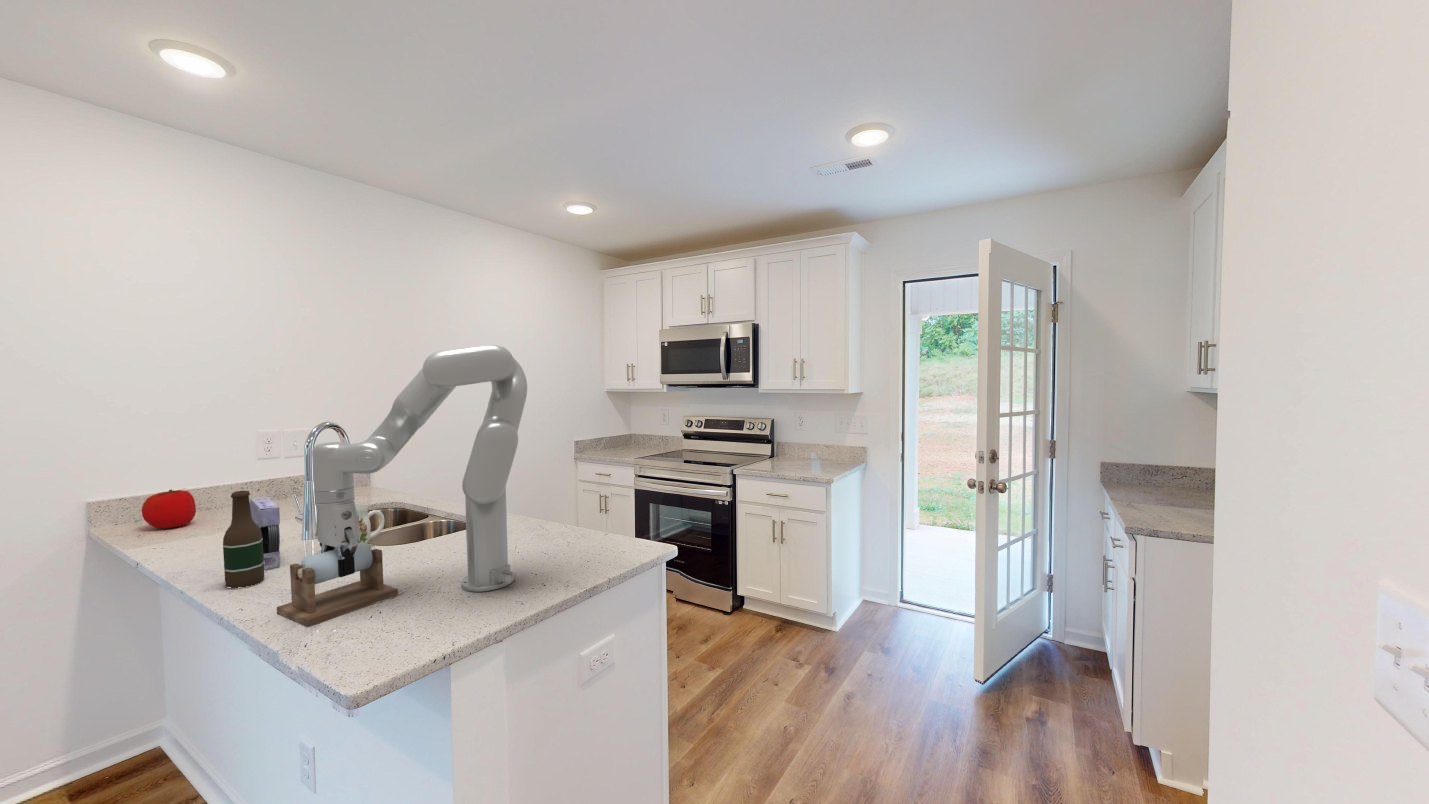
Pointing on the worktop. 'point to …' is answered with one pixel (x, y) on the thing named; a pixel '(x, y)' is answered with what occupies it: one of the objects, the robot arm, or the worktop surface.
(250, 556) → the beer bottle
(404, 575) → the worktop surface
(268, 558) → the cake pan box
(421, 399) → the robot arm
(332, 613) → the roll holder
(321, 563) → the kitchen roll
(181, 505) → the tomato
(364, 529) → the pitcher
